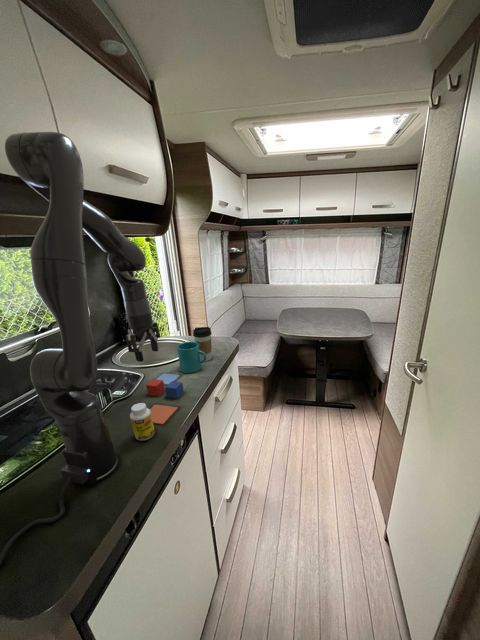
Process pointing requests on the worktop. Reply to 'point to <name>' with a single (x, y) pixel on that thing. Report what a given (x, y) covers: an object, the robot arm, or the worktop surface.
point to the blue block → (174, 390)
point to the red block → (155, 387)
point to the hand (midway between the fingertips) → (148, 355)
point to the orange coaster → (161, 413)
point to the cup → (190, 357)
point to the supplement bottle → (142, 422)
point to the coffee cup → (203, 341)
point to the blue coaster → (167, 378)
